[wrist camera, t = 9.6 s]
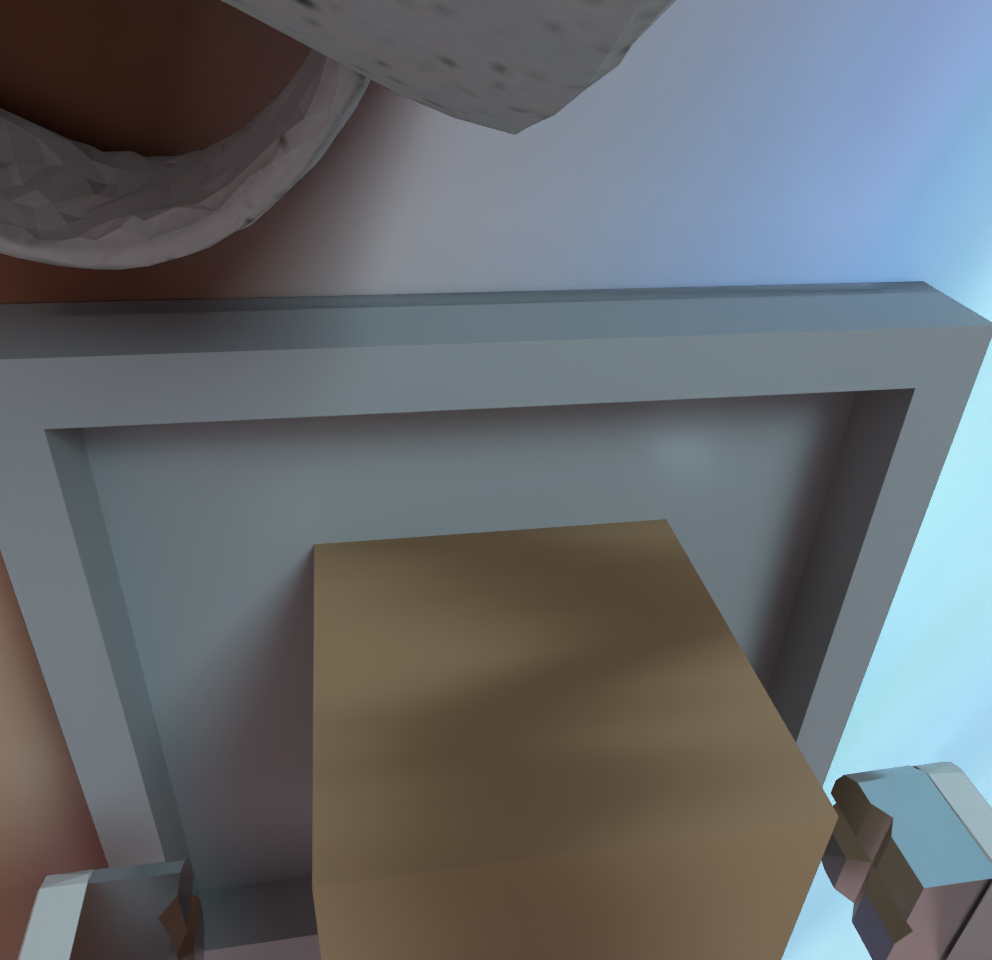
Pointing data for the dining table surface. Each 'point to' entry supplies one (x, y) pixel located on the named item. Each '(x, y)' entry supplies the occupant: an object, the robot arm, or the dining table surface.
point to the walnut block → (547, 756)
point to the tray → (432, 511)
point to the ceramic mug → (306, 119)
